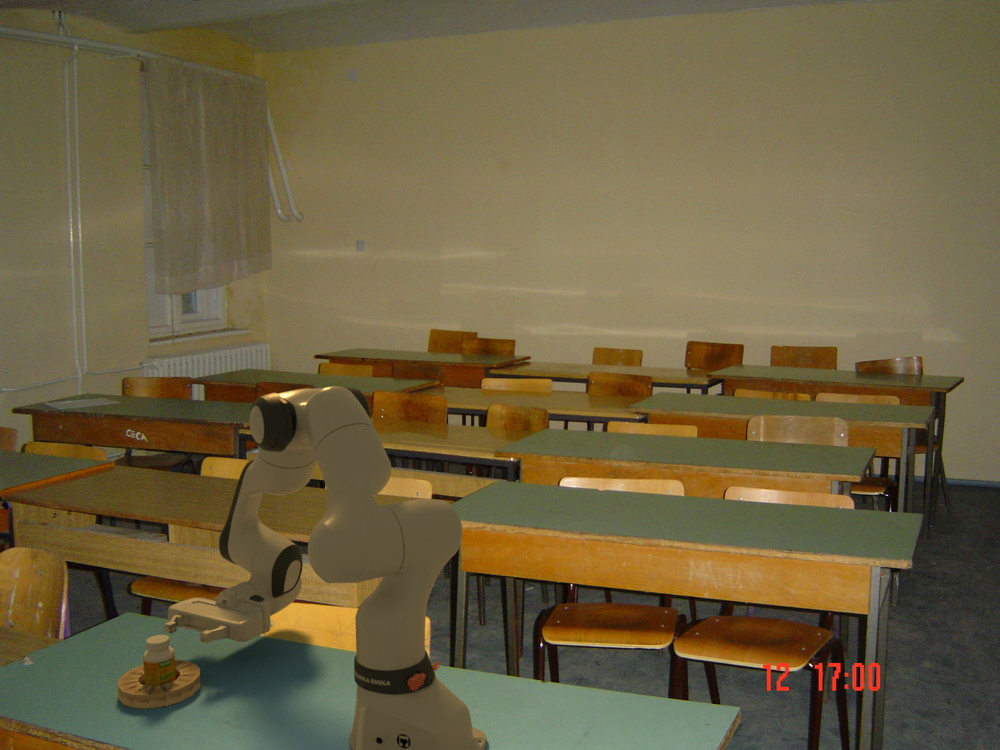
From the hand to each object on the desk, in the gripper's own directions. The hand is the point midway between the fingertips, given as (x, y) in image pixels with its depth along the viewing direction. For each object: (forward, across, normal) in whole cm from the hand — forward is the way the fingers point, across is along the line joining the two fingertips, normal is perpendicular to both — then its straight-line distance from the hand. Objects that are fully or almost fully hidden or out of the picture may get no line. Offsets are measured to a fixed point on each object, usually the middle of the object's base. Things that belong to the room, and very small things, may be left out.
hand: (184, 634), depth 174 cm
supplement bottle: (+6, 0, +8) cm, 11 cm away
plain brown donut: (+6, 0, +8) cm, 10 cm away
